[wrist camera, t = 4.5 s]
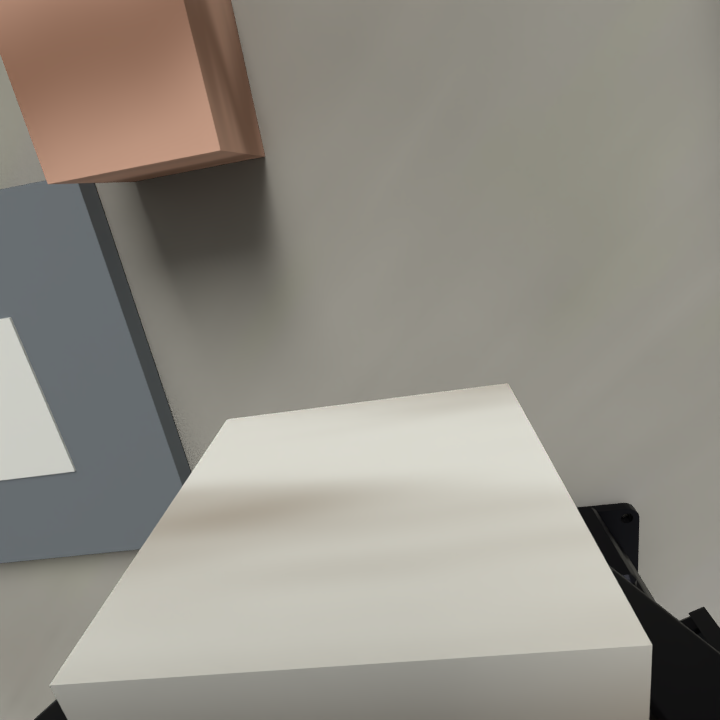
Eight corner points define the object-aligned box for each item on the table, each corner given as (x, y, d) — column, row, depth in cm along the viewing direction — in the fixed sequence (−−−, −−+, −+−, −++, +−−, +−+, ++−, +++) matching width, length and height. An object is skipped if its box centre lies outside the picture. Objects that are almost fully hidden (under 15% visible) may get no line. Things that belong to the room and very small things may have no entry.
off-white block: (524, 606, 10) (638, 978, 5) (287, 624, 11) (205, 975, 6) (507, 382, 8) (651, 645, 4) (226, 419, 9) (49, 684, 4)
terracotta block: (265, 156, 18) (220, 150, 13) (135, 181, 18) (48, 184, 14) (229, -8, 16) (163, -82, 11) (87, 25, 17) (-32, -33, 12)
